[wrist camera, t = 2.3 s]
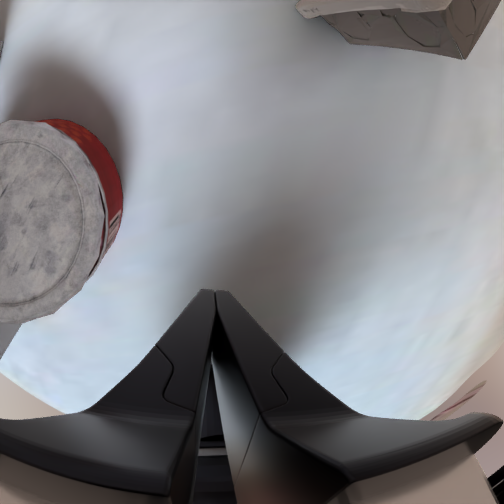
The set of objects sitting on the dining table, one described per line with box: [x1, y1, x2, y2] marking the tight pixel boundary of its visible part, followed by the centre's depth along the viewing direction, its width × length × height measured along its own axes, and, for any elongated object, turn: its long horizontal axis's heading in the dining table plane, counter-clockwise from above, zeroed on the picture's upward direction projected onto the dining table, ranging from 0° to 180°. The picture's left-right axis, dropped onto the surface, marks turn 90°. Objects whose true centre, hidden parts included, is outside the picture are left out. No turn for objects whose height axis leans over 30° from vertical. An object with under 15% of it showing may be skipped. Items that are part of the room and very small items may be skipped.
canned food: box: [0, 119, 123, 325], centre depth 12 cm, size 11×10×10 cm
